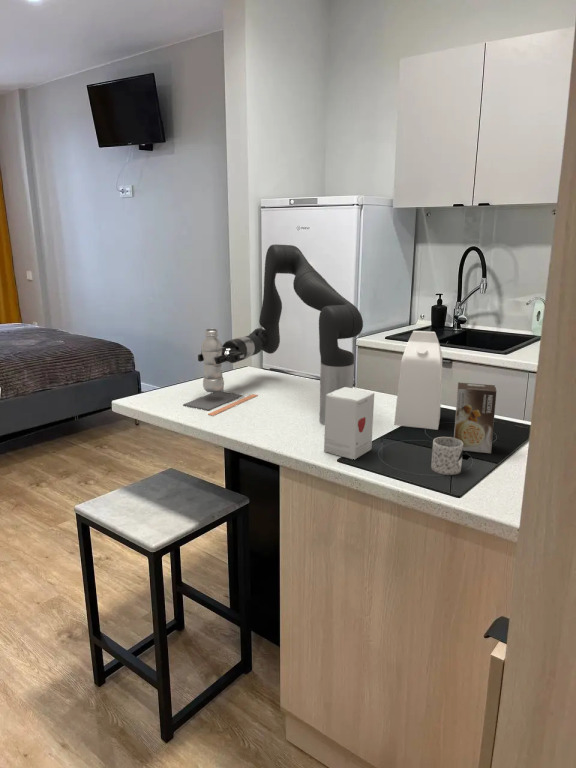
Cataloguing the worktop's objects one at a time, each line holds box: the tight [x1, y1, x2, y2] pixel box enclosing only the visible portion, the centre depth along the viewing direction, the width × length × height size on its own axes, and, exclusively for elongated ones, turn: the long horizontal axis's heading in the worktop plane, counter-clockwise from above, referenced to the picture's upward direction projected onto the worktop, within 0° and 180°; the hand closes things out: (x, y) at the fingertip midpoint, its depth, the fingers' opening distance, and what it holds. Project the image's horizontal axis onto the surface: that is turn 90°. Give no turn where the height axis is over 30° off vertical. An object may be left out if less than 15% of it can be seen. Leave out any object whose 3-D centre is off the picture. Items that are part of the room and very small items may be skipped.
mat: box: [182, 390, 244, 412], centre depth 177 cm, size 10×18×1 cm, turn 150°
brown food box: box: [453, 382, 497, 454], centre depth 138 cm, size 9×6×16 cm
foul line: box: [207, 393, 259, 417], centre depth 174 cm, size 2×24×1 cm, turn 150°
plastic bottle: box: [201, 328, 225, 393], centre depth 174 cm, size 6×7×20 cm
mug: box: [430, 436, 463, 476], centre depth 129 cm, size 10×7×7 cm
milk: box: [393, 330, 443, 431], centre depth 157 cm, size 12×12×26 cm
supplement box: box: [323, 387, 375, 461], centre depth 136 cm, size 9×9×15 cm
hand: (207, 359), depth 172 cm, fingers closed on plastic bottle, 6 cm apart
